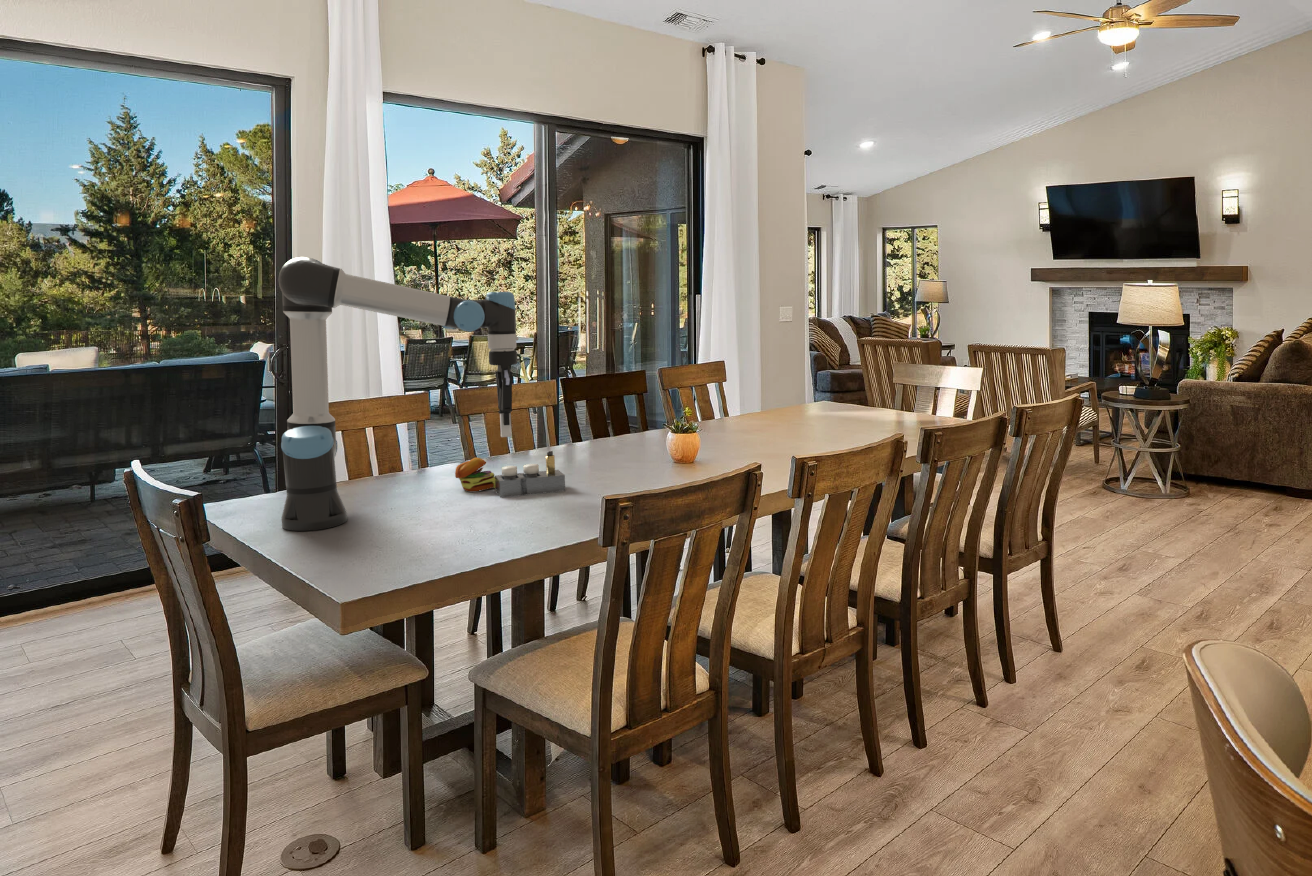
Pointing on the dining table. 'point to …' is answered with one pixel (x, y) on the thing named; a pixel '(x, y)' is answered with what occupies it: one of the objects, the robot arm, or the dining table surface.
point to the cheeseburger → (475, 476)
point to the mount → (530, 484)
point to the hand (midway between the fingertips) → (506, 436)
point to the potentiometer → (550, 463)
